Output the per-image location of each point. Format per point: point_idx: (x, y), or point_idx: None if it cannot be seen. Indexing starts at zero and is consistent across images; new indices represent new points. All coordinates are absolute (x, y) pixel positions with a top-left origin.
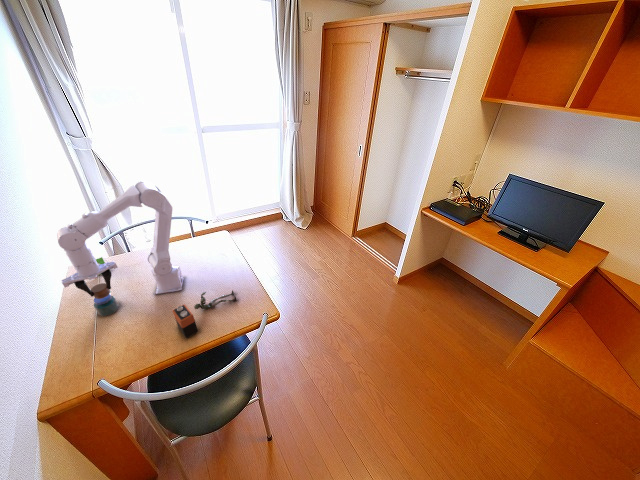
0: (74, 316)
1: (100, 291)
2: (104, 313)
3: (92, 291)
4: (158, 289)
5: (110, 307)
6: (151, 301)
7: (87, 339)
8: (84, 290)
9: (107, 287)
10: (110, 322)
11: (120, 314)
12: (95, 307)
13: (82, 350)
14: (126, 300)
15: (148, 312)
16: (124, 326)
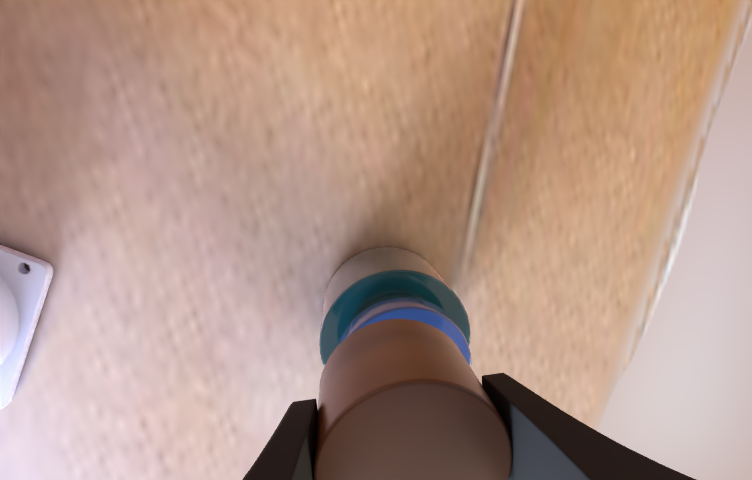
0: (554, 359)
1: (412, 377)
2: (416, 258)
3: (501, 430)
4: (18, 301)
5: (370, 265)
6: (103, 202)
7: (543, 92)
8: (654, 464)
9: (319, 427)
10: (399, 162)
11: (329, 202)
12: (463, 313)
13: (586, 4)
14: (270, 326)
15: (142, 82)
16: (326, 48)
